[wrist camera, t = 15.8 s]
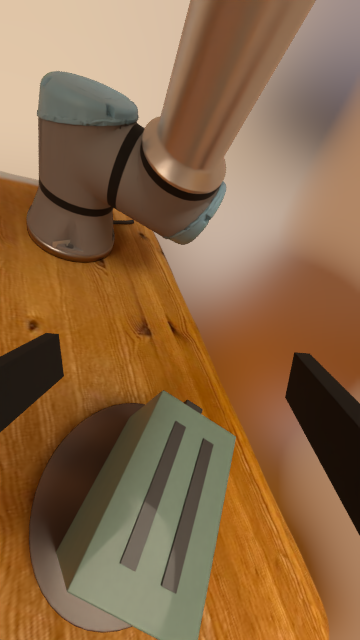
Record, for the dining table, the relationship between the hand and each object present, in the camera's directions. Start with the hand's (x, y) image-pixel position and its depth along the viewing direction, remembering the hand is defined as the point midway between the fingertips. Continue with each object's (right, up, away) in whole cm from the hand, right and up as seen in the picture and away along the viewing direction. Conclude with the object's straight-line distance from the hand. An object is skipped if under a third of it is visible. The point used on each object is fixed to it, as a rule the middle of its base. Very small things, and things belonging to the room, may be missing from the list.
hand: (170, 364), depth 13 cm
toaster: (-5, -17, +13) cm, 22 cm away
